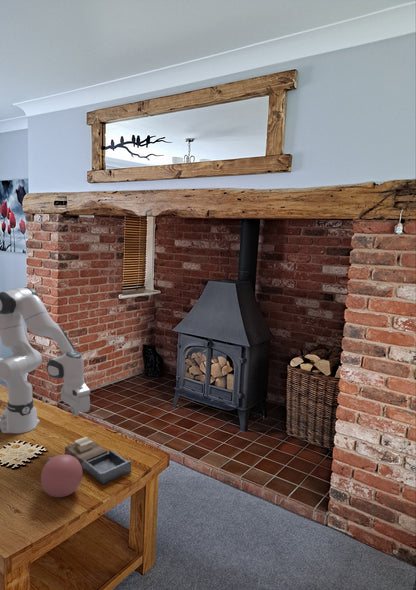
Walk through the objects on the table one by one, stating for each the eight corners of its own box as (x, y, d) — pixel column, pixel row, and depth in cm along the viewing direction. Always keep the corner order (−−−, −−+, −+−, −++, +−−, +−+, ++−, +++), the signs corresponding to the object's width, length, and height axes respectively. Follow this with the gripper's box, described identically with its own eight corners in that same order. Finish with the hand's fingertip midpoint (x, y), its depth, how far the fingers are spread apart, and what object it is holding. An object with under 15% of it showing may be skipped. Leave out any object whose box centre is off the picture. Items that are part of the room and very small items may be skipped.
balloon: (71, 472, 182) (71, 438, 180) (88, 497, 166) (88, 460, 164) (33, 483, 173) (32, 448, 171) (47, 511, 157) (46, 473, 155)
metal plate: (65, 452, 197) (65, 446, 196) (88, 443, 205) (88, 438, 205) (83, 467, 186) (83, 460, 186) (107, 457, 195) (107, 451, 194)
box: (82, 468, 185) (82, 458, 184) (109, 456, 195) (109, 446, 194) (103, 485, 174) (103, 473, 173) (130, 471, 184) (131, 461, 184)
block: (74, 447, 196) (74, 440, 196) (86, 442, 201) (86, 436, 200) (81, 452, 192) (81, 445, 192) (93, 447, 197) (93, 441, 196)
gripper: (57, 382, 202) (57, 410, 204) (79, 394, 188) (80, 424, 191) (69, 379, 207) (70, 406, 209) (92, 391, 193) (92, 419, 195)
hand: (75, 415), depth 200 cm, fingers closed
